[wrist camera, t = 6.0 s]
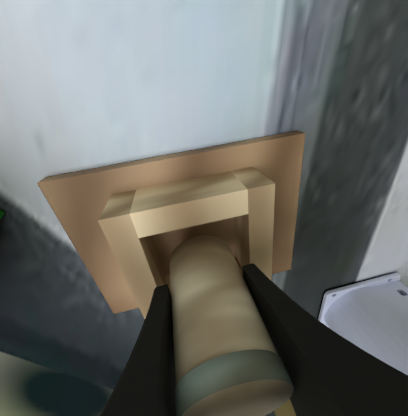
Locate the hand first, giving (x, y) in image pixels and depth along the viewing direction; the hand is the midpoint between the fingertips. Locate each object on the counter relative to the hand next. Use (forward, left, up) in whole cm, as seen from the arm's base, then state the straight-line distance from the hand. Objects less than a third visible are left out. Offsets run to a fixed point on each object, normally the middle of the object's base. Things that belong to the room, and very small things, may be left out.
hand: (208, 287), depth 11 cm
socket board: (0, 0, -6) cm, 6 cm away
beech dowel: (0, 0, -2) cm, 2 cm away
